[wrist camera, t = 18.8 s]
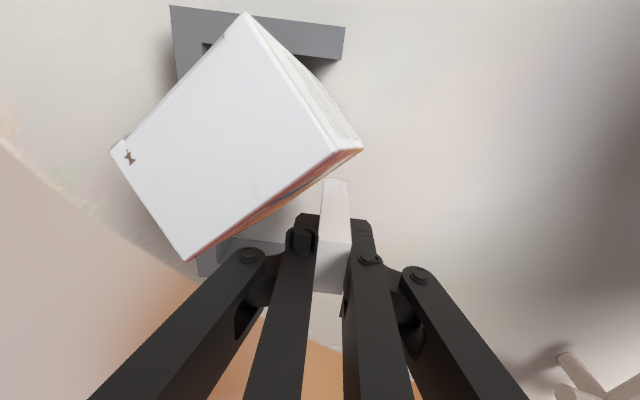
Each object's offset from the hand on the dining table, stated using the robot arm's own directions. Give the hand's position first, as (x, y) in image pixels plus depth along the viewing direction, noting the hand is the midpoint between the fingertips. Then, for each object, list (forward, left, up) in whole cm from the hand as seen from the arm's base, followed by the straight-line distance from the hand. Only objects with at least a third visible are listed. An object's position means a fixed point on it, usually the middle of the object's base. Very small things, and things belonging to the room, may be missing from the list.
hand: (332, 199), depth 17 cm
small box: (-2, -3, -4) cm, 5 cm away
